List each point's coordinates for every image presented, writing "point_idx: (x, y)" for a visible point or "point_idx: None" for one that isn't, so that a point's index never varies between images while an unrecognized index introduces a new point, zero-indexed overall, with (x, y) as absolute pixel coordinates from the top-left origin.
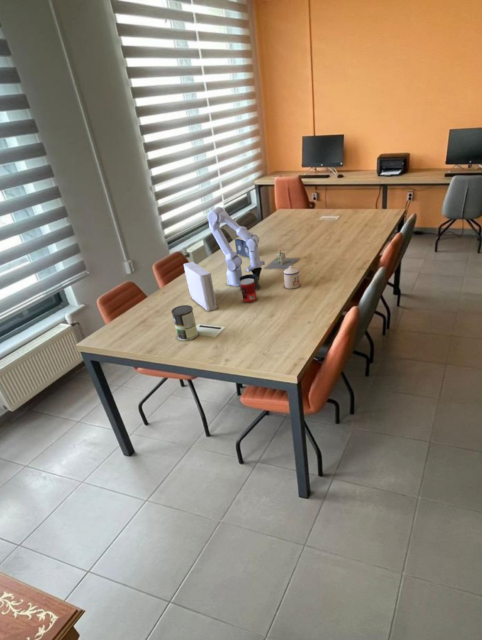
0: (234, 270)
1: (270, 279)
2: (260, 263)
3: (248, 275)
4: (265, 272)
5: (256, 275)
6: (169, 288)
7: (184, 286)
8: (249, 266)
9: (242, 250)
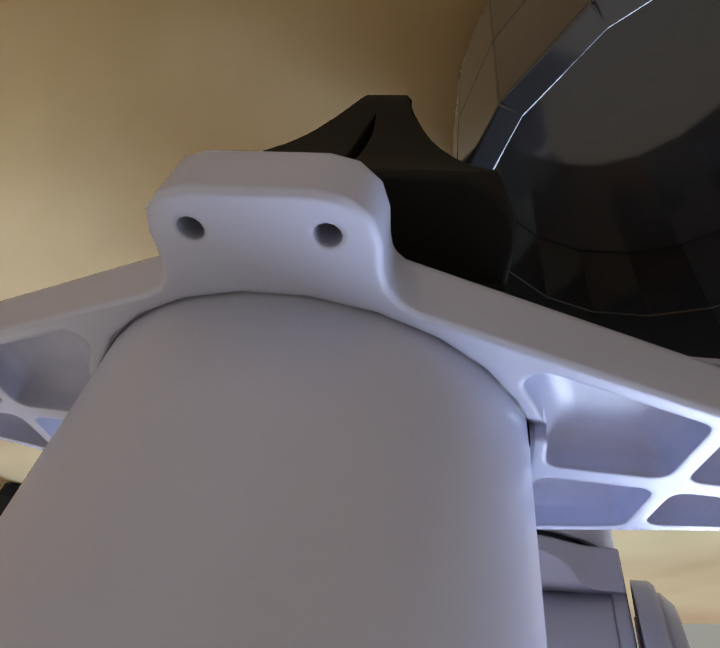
0: (653, 587)
1: (85, 10)
2: (57, 378)
3: None
4: (37, 277)
5: (521, 119)
6: (694, 621)
7: None
8: (537, 522)
9: None
